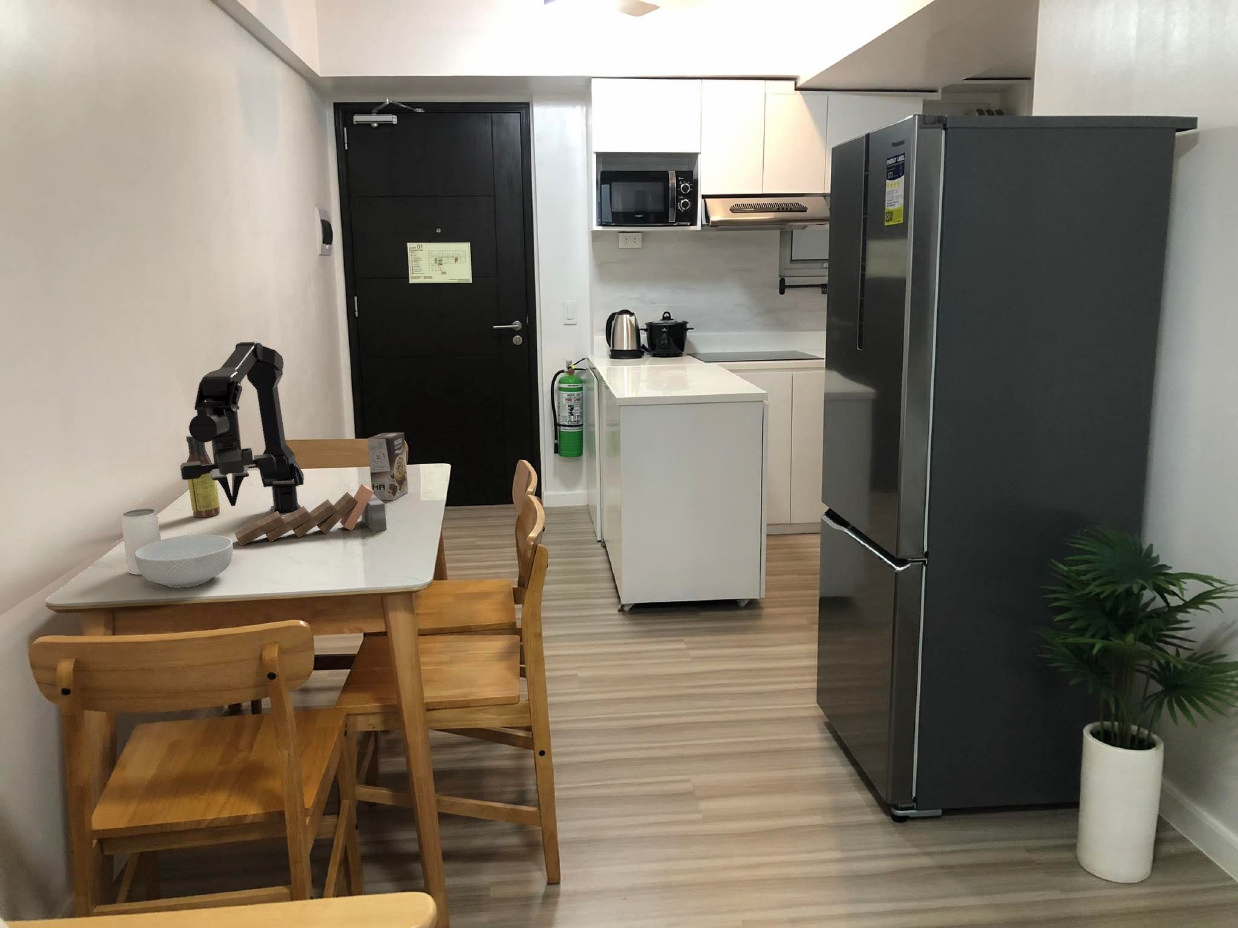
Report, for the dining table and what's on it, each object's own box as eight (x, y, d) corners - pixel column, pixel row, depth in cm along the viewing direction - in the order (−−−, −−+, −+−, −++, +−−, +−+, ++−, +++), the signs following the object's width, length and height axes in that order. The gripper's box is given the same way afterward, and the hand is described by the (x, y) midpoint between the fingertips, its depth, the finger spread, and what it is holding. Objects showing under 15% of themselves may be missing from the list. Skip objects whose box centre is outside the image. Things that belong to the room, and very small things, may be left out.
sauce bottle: (226, 512, 236) (217, 433, 232) (207, 519, 230) (198, 437, 227) (204, 511, 238) (195, 432, 234) (186, 517, 233) (176, 436, 229)
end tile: (343, 526, 215) (366, 487, 216) (339, 521, 220) (361, 483, 220) (351, 530, 216) (374, 491, 217) (347, 525, 221) (369, 487, 221)
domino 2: (265, 534, 208) (307, 510, 211) (262, 529, 212) (303, 505, 216) (270, 542, 209) (312, 517, 212) (267, 536, 213) (308, 513, 216)
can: (136, 566, 193) (128, 508, 191) (169, 565, 194) (162, 507, 192) (122, 576, 187) (114, 517, 185) (156, 574, 188) (149, 515, 185)
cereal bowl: (136, 601, 172) (131, 564, 171) (141, 576, 187) (136, 541, 186) (237, 587, 179) (233, 550, 178) (234, 563, 194) (230, 529, 192)
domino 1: (236, 538, 205) (280, 515, 209) (234, 533, 210) (277, 510, 213) (241, 546, 206) (284, 523, 209) (239, 540, 211) (281, 518, 214)
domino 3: (293, 531, 211) (331, 503, 213) (290, 526, 215) (327, 499, 218) (299, 538, 211) (337, 510, 214) (295, 532, 216) (332, 506, 219)
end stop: (361, 519, 226) (359, 495, 224) (374, 518, 227) (372, 493, 226) (373, 531, 215) (371, 505, 214) (386, 529, 216) (384, 503, 215)
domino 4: (319, 528, 213) (351, 496, 215) (315, 523, 217) (347, 491, 219) (325, 534, 214) (358, 501, 216) (321, 529, 218) (353, 497, 220)
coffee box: (394, 500, 244) (390, 438, 241) (371, 500, 246) (366, 437, 242) (409, 492, 253) (405, 432, 250) (386, 491, 254) (382, 431, 251)
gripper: (179, 444, 192) (188, 520, 195) (276, 435, 200) (284, 507, 203) (176, 436, 202) (185, 508, 205) (269, 428, 210) (276, 497, 213)
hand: (233, 505), depth 206 cm, fingers closed
